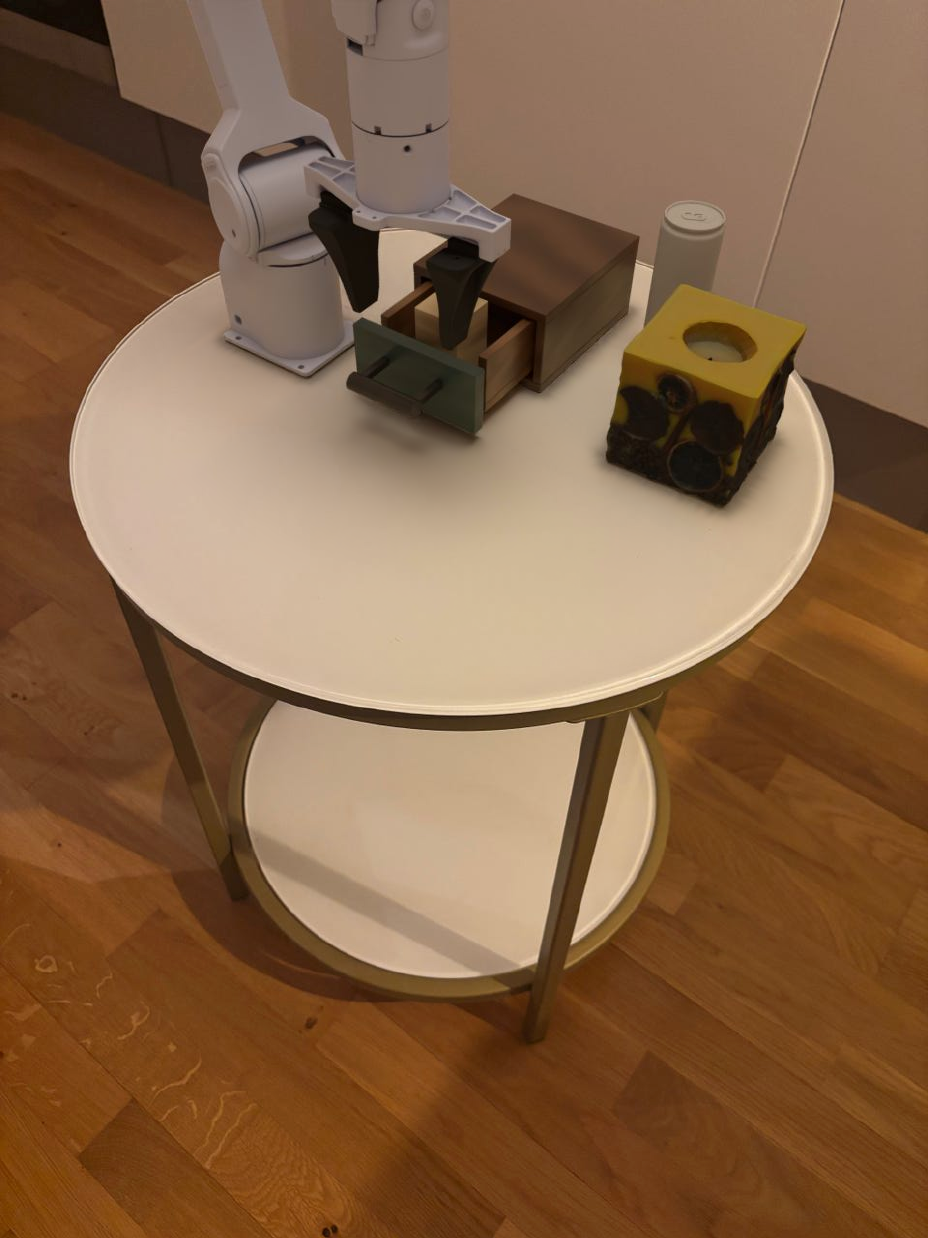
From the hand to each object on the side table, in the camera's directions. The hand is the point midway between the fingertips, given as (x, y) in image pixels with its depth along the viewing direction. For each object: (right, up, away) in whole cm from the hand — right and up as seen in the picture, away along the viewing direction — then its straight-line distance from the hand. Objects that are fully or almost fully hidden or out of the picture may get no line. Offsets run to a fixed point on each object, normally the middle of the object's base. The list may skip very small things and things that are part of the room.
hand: (409, 323), depth 66 cm
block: (+3, 0, +11) cm, 11 cm away
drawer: (+3, -1, +12) cm, 12 cm away
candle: (+21, -7, +8) cm, 23 cm away
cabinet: (+9, +5, +18) cm, 21 cm away
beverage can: (+21, +2, +16) cm, 27 cm away
